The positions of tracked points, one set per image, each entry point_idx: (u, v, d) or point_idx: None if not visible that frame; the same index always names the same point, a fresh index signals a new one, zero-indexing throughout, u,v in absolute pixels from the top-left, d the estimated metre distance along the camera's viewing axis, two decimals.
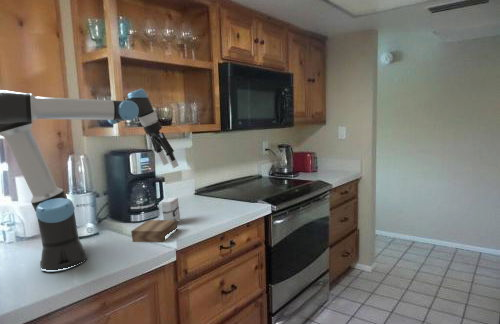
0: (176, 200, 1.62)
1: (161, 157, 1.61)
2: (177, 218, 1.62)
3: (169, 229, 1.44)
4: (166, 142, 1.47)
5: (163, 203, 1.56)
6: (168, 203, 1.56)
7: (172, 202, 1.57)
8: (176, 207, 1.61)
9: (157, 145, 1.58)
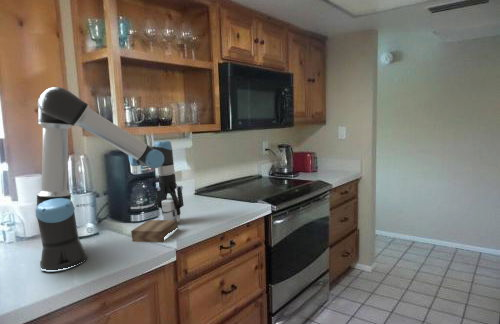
0: None
1: None
2: None
3: (169, 229, 1.43)
4: (181, 196, 1.59)
5: (163, 203, 1.56)
6: (168, 203, 1.56)
7: (172, 202, 1.57)
8: None
9: (165, 198, 1.60)
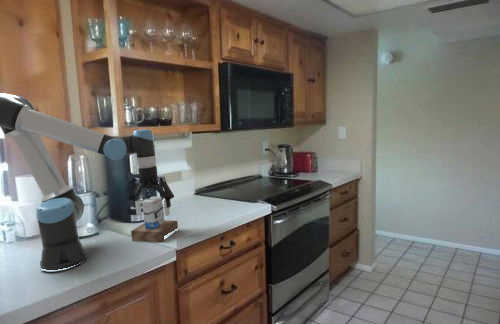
0: (159, 200, 1.46)
1: (138, 206, 1.45)
2: (160, 220, 1.46)
3: (168, 230, 1.43)
4: (167, 187, 1.42)
5: (144, 203, 1.41)
6: (149, 203, 1.40)
7: (154, 202, 1.41)
8: (159, 208, 1.45)
9: (140, 192, 1.44)
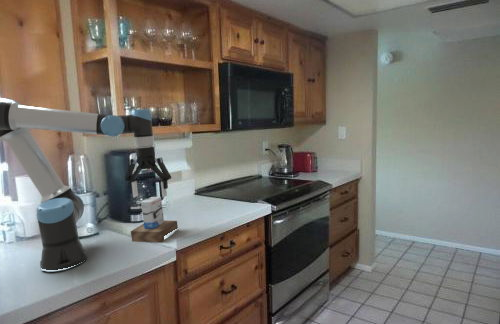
0: (158, 200, 1.46)
1: (134, 187, 1.44)
2: (160, 220, 1.46)
3: (168, 230, 1.43)
4: (165, 168, 1.41)
5: (142, 203, 1.41)
6: (148, 203, 1.40)
7: (153, 202, 1.41)
8: (158, 208, 1.45)
9: (137, 172, 1.43)
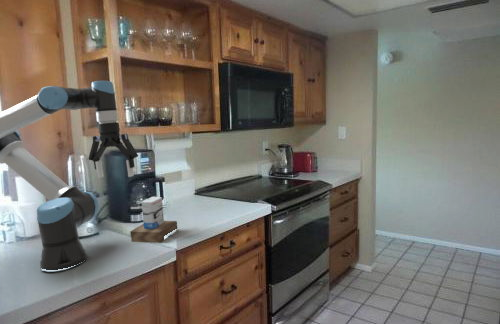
0: (159, 200, 1.45)
1: (99, 167, 1.33)
2: (159, 220, 1.46)
3: (167, 230, 1.43)
4: (130, 145, 1.29)
5: (143, 203, 1.40)
6: (148, 204, 1.40)
7: (153, 203, 1.41)
8: (159, 208, 1.45)
9: (101, 151, 1.31)
